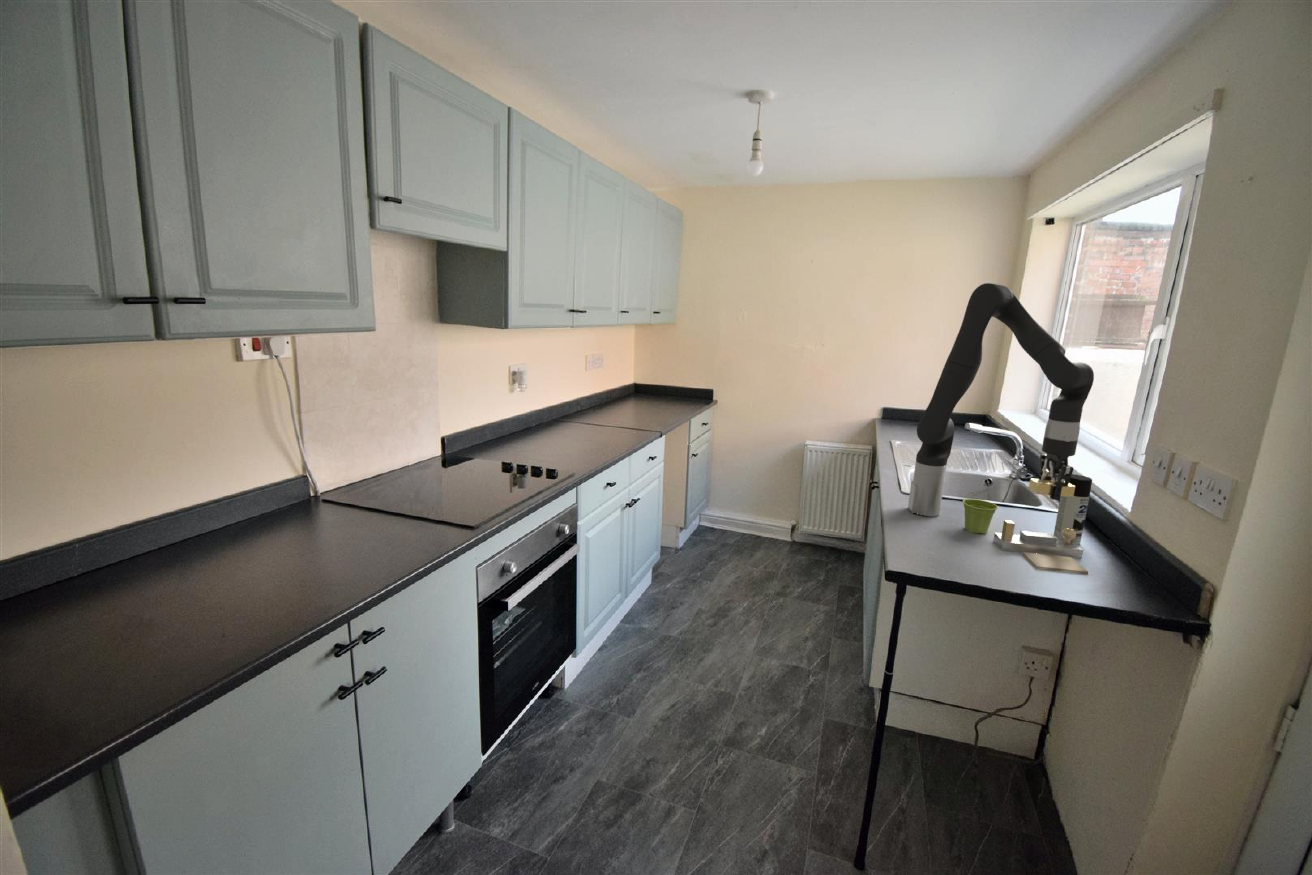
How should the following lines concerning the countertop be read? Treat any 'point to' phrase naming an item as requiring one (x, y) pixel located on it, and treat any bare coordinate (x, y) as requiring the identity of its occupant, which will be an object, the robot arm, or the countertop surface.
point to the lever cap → (1049, 487)
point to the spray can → (1074, 508)
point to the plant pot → (978, 515)
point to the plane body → (1037, 542)
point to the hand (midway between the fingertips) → (1049, 495)
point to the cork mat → (1054, 563)
